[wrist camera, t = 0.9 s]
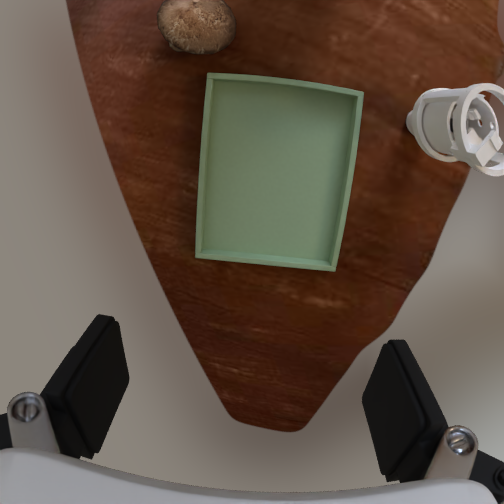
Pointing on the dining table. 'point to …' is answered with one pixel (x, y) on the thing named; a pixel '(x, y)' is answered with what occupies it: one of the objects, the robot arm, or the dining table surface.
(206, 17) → the mushroom
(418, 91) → the dining table surface
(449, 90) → the white open cylindrical frame
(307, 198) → the tray
